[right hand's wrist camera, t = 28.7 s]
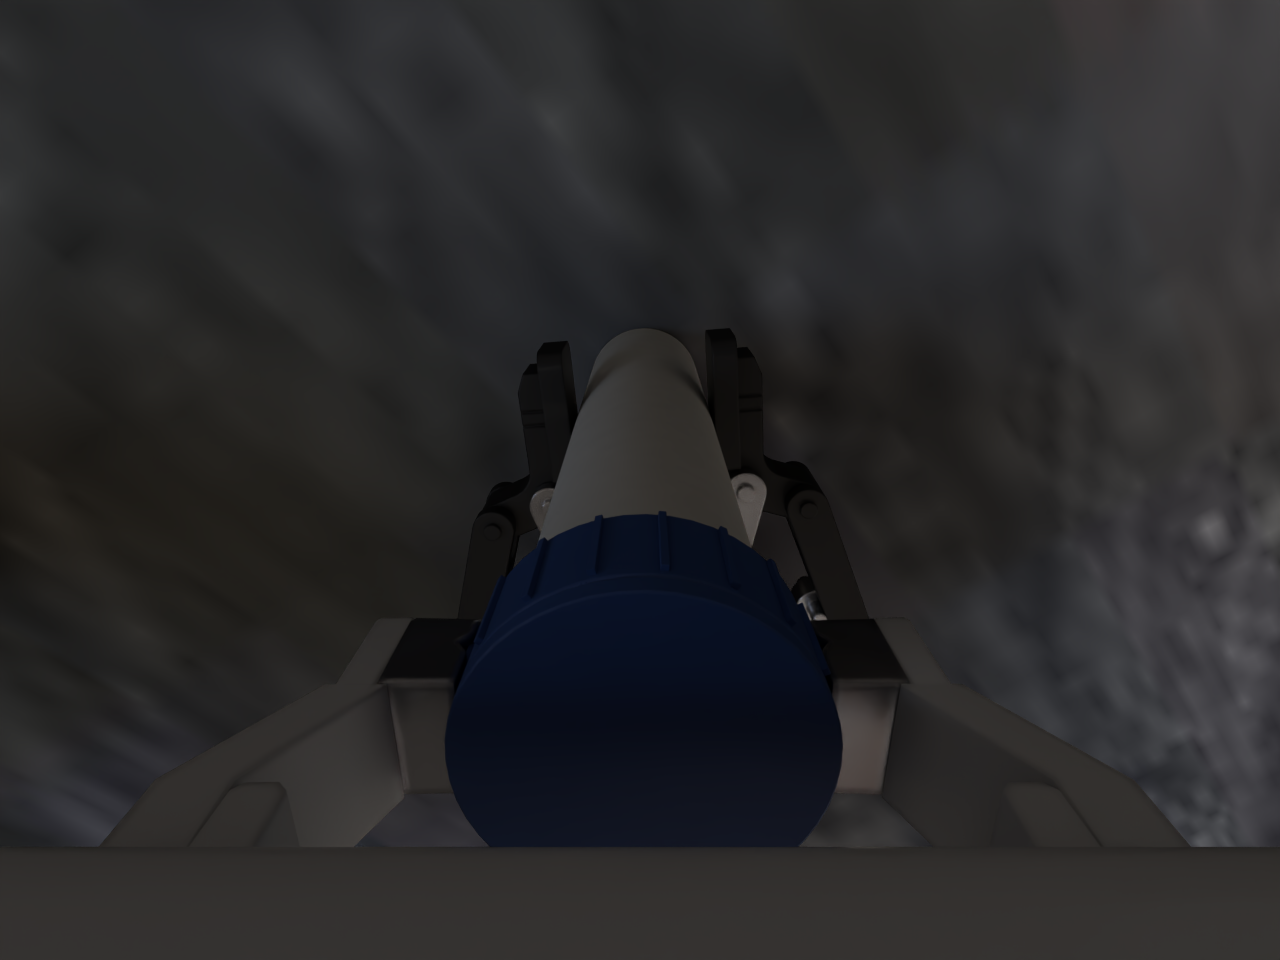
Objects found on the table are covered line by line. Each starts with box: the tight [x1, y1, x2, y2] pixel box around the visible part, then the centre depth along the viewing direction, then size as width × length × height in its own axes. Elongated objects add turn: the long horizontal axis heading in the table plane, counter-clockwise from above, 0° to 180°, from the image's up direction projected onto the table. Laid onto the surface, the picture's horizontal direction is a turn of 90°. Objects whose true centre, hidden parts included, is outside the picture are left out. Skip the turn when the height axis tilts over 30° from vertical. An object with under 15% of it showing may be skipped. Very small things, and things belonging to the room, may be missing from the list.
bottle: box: [538, 328, 751, 548], centre depth 18 cm, size 4×4×19 cm
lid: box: [445, 511, 843, 847], centre depth 10 cm, size 5×5×2 cm
